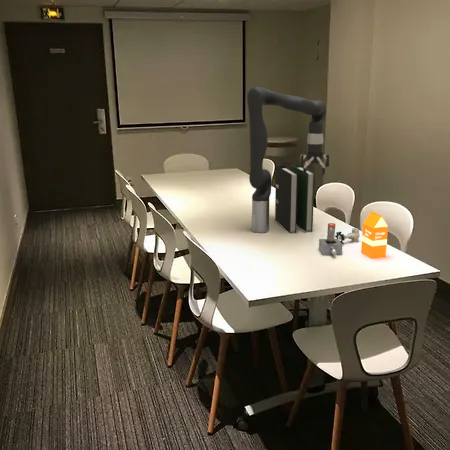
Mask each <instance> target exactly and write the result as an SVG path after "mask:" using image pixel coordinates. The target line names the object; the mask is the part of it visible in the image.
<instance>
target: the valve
mask: <svg viewBox="0 0 450 450" xmlns="http://www.w3.org/2000/svg"><path fill="white" fill-rule="evenodd" d="M335 239H338V240H339V241H340V242H341V243H342V245H343V244H344V241H345V240H346V239H349V240H350V241H351V242H352V243H359V239H360V229H359V228H356V227H353V228H352V229H351V232H349V233H347V234H343V233H342V231H337V232H336V231H335Z"/></svg>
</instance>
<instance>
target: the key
mask: <svg viewBox="0 0 450 450" xmlns="http://www.w3.org/2000/svg"><path fill="white" fill-rule="evenodd" d="M335 235H336V223H334V222H329V223H327V234H326V239H327V243H334V239H336V237H335Z"/></svg>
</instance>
